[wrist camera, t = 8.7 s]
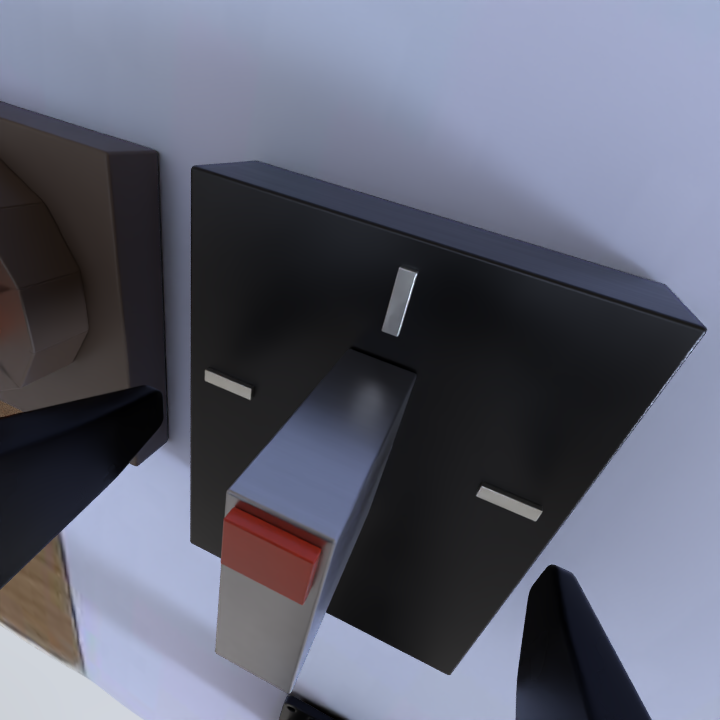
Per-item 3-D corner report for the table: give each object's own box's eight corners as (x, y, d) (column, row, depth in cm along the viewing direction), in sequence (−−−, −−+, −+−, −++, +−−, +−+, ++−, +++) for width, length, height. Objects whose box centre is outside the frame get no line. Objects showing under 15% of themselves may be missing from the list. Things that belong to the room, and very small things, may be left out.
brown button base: (168, 441, 17) (95, 502, 14) (-14, 356, 19) (-112, 394, 16) (158, 150, 12) (33, 154, 9) (-102, 69, 13) (-277, 49, 10)
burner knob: (369, 511, 11) (282, 711, 7) (315, 487, 12) (205, 667, 8) (417, 373, 9) (328, 559, 5) (349, 347, 9) (212, 503, 5)
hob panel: (460, 605, 16) (449, 683, 13) (230, 495, 17) (186, 546, 15) (668, 284, 9) (715, 333, 7) (255, 159, 11) (183, 165, 8)
